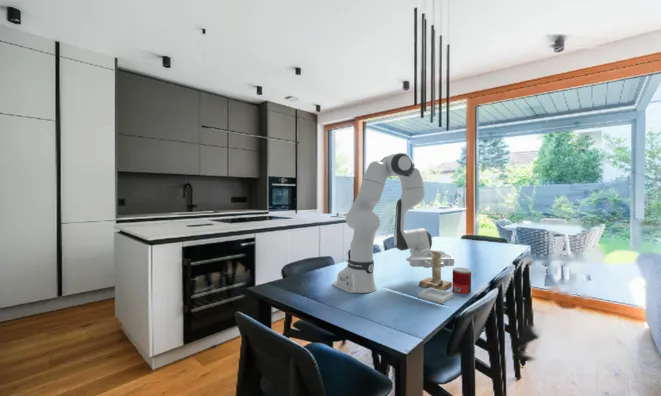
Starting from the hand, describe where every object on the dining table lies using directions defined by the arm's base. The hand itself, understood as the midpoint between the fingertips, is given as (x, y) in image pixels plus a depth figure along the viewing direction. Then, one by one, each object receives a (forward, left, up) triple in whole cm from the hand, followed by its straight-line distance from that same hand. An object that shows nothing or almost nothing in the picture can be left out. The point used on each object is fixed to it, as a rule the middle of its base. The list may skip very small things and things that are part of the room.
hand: (437, 265), depth 132 cm
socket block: (-8, +14, -15) cm, 22 cm away
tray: (-1, 0, -15) cm, 15 cm away
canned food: (+4, +16, -15) cm, 23 cm away
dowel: (-1, +1, -8) cm, 8 cm away
